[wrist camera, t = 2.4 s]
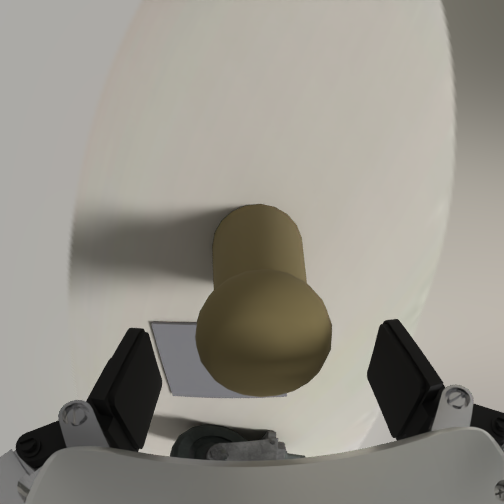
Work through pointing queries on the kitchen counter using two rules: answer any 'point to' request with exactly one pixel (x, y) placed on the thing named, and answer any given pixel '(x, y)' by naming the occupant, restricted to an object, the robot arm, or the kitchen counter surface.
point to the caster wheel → (228, 446)
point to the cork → (261, 307)
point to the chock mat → (187, 363)
